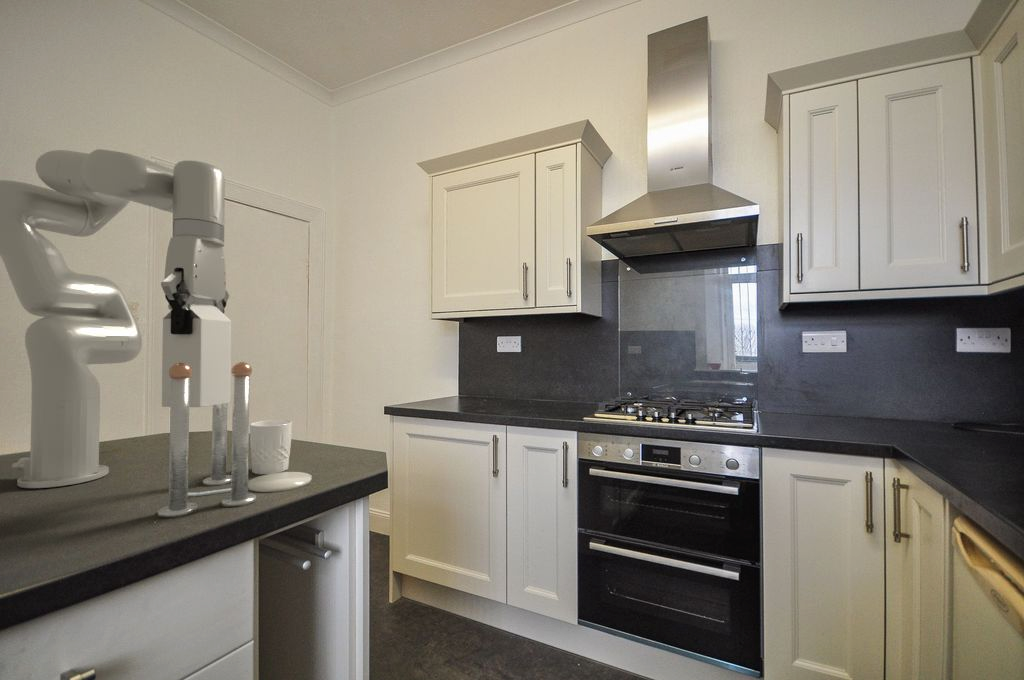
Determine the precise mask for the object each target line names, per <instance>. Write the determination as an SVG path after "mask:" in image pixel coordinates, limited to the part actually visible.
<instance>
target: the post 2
mask: <svg viewBox="0 0 1024 680" xmlns="http://www.w3.org/2000/svg"><path fill="white" fill-rule="evenodd" d="M211 421H212V424H211V425H212V426H211V427H212V428H211V429H212V430H211V431H212V432H211V476H209V477H206V478H204V479H203V480H202V485H204V486H207V487H208V486H209V487H210V486H212V487H213V486H215V487H216V486H222V485H226V484H227V485H228V484H231V474H227V459H228V458H227V454H228V453H227V451H228V450H227V448H228V445H227V443H228V442H227V441H228V403H223V404H217V405H212V420H211Z"/></svg>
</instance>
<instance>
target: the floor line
mask: <svg viewBox="0 0 1024 680" xmlns="http://www.w3.org/2000/svg"><path fill="white" fill-rule="evenodd" d="M229 492H230V493H231V487H230V488H229V487H228V488H222V489H214V490H207V491H200V492H188V497H201V496H208V495H217V494H223V493H224V494H225V493H229Z"/></svg>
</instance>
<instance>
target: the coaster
mask: <svg viewBox="0 0 1024 680" xmlns="http://www.w3.org/2000/svg"><path fill="white" fill-rule="evenodd" d="M312 477H313V476H312V474H310V473H307V472H304V471H303V472H302V471H283V472H279V473H273V474H262V475H260V476H259V475H258V476H257V477H254V478H251V479H250V480H248V491H251V492H254V493H255V492H256V493H257V492H258V493H276V492H284V491H285V492H286V491H290V490H294V489H295V490H296V489H298V488H302V487H304V486H306V485H308V484H310V483H311V482H312V479H313V478H312Z"/></svg>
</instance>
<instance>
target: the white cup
mask: <svg viewBox="0 0 1024 680" xmlns="http://www.w3.org/2000/svg"><path fill="white" fill-rule="evenodd" d="M292 431H293V421H292V420H288V419H271V420H270V419H269V420H268V419H267V420H260V421H255V422H251V423H249V436H250V437H249V439H250V442H249V443H250V457H251V472H252V473H253V474H254V473H255V475H268V474H273V473H281V472H286V471H287V470H288V469H289V467H290V465H289V464H290V455H291V445H292ZM285 470H286V471H285Z"/></svg>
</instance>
